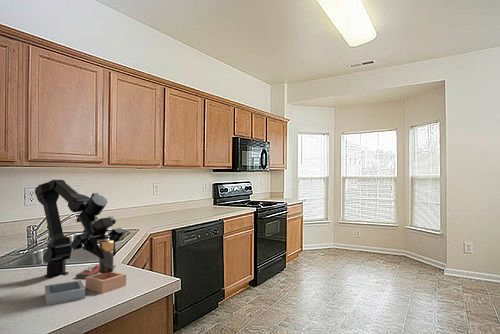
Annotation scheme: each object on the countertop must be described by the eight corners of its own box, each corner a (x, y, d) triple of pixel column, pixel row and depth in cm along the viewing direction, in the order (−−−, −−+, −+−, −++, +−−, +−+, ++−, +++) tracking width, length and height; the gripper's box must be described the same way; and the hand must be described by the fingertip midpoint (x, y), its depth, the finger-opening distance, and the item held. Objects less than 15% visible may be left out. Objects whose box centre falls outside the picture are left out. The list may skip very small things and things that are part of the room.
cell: (100, 269, 125) (101, 238, 125) (114, 269, 126) (115, 237, 126) (97, 273, 120) (98, 240, 120) (111, 272, 121) (112, 240, 121)
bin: (85, 290, 121) (85, 276, 121) (109, 283, 129) (109, 270, 129) (102, 296, 116) (102, 281, 116) (126, 288, 124) (126, 274, 124)
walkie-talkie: (94, 283, 131) (117, 269, 151) (94, 272, 131) (117, 259, 151) (72, 282, 131) (98, 268, 151) (72, 271, 131) (98, 258, 151)
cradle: (44, 297, 114) (44, 285, 114) (80, 291, 120) (80, 280, 120) (46, 308, 105) (46, 295, 105) (85, 301, 111) (85, 288, 111)
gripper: (76, 211, 117) (95, 247, 111) (121, 207, 133) (140, 238, 127) (63, 232, 121) (80, 267, 115) (108, 225, 137) (126, 256, 131)
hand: (108, 256), depth 122 cm, fingers closed on cell, 5 cm apart
